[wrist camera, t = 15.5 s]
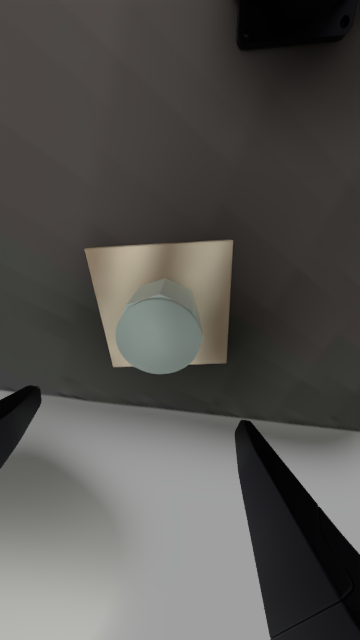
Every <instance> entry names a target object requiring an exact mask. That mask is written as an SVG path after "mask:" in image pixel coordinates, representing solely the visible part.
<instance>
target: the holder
mask: <svg viewBox="0 0 360 640" xmlns="http://www.w3.org/2000/svg"><path fill="white" fill-rule="evenodd" d="M232 252H233V240H230V239H229V240H211V241H193V242H175V243H158V244H140V245H122V246H104V247H90V248H86V249H85V253H86V257H87V261H88V266H89V270H90V274H91V278H92V282H93V286H94V290H95V294H96V298H97V302H98V306H99V311H100V315H101V319H102V323H103V327H104V331H105V335H106V339H107V343H108V347H109V352H110V356H111V360H112V364H113V367H129V366H133V365H131V364H130V363H129V362H128V361H127V360H126V359H125V358H124V357H123V356H122V354H121V353H120V351H119V349H118V346H117V343H116V335H115V332H116V328H117V324H118V322H119V320H120V318H121V317H122V314H123V312H124V309H125V307H126V304H127V303H128V302H129V300H130V299H131V297H132V296H133V294H134V293H135V292H136V290H137V289H138V287H140V286H143V285H146V284H149V283H152V282H155V281H158V280H161V279H164V278H167V279H169V280H171V281H173V282H175V283H177V284H179V285H181V286H183V287H185V288H187V289H190V290H191V291H192V294H193V297H194V300H195V303H196V306H197V309H198V312H199V316H200V322H201V328H202V333H203V341H202V342H201V344H200V349H199V351H198V354H197V355H196V357H195V358H194V360H193V361H192V362H191V363H190V364H219V363H226V360H227V342H228V324H229V306H230V288H231V270H232Z"/></svg>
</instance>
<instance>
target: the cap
mask: <svg viewBox="0 0 360 640" xmlns="http://www.w3.org/2000/svg"><path fill="white" fill-rule="evenodd" d="M115 335H116V343H117V346H118V349H119V351H120V353H121V354H122V356H123V357H124V358H125V359H126V360H127V361H128V362H129V363H130V364H131V365H133V366H134V367H136V368H138V369H140V370H142V371H145V372H148V373H152V374H169V373H173V372H176V371H179V370H181V369H183V368H185V367H186V366H187V365H189V364H190V363H191V362H192V361H193V360H194V358H195V357H196V355H197V354H198V351H199V349H200V344H201V342H202V341H203V333H202V328H201V322H200V316H199V312H198V309H197V306H196V303H195V300H194V297H193V294H192V291H191V290H190V289H187V288H185V287H183V286H181V285H179V284H177V283H175V282H173V281H171V280H169V279H167V278H164V279H161V280H158V281H155V282H152V283H149V284H146V285H143V286H140V287H138V289H137V290H136V292H135V293H134V294H133V296H132V297H131V299H130V300H129V302H128V303H127V304H126V307H125V309H124V312H123V314H122V317H121V318H120V320H119V322H118V324H117V328H116V332H115Z"/></svg>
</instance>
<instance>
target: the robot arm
mask: <svg viewBox="0 0 360 640" xmlns="http://www.w3.org/2000/svg"><path fill="white" fill-rule="evenodd" d="M357 3H358V0H238V14H237V37H236V38H237V44H238V46H239V47H240V48H241V49H252V48H263V47H274V46H285V45H297V44H308V43H319V42H330V41H338V40H341V39H342V38H343V37H344V36H345V35H346V34H347V33H348V32H349V30H350V29H351V27H352V25H353V22H354V17H355V13H356V8H357ZM340 21H342V22H343V23H344V29H342V28H341V27H340ZM245 30H246V31H248V32H249V37H247V38H246V37H244V36H243V33H242V32H243V31H245ZM40 404H41V392H40V388H39V387H38V386H31V385H29V386H26V387H24V388H22V389H21V390H19V391H17V392H15V393H13V394H11V395H9V396H7V397H5V398H3V399H1V400H0V468H1V467H2V466H3V465H4V463H5V462H6V460H7V459H8V457H9V456H10V455H11V453H12V452H13V450H14V449H15V447H16V446H17V444H18V443H19V441H20V440H21V438H22V436H23V435H24V433H25V431H26V429H27V428H28V425H29V424H30V422H31V421H32V419H33V417H34V415H35V414H36V412H37V410H38V408H39V407H40ZM235 443H236V454H237V464H238V473H239V478H240V484H241V489H242V494H243V500H244V505H245V510H246V515H247V520H248V526H249V531H250V536H251V541H252V546H253V552H254V557H255V562H256V567H257V572H258V577H259V583H260V588H261V593H262V598H263V603H264V609H265V614H266V619H267V624H268V629H269V634H270V637H271V640H360V554H359V553H358V552H357V551H356V550H355V549H354V548H353V546H352V545H351V544H350V543H349V542H348V541H347V539H346V538H345V537H344V536H343V535H342V534H341V532H340V531H339V530H338V529H337V528H336V526H335V525H334V524H333V523H332V522H331V520H330V519H329V518H328V517H327V515H326V514H325V513H324V512H323V510H322V509H321V508H320V507H318V505H317V503H316V502H315V501H314V500H313V498H312V497H311V496H310V494H309V493H308V492H307V491H306V489H305V488H304V487H303V486H302V485H301V483H300V482H299V481H298V480H297V478H296V477H295V476H294V475H293V473H292V472H291V471H290V470H289V468H288V467H287V466H286V465H285V463H284V462H283V461H282V460H281V459H280V457H279V456H278V455H277V454H276V452H275V451H274V450H273V449H272V447H271V446H270V445H269V444H268V442H267V441H266V440H265V439H264V437H263V436H262V435H261V434H260V432H259V431H258V430H257V429H256V428H255V426H254V425H253V424H252V423H251V422H250V421H247V420H241V421H240V423H239V425H238V427H237V429H236V431H235Z"/></svg>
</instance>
